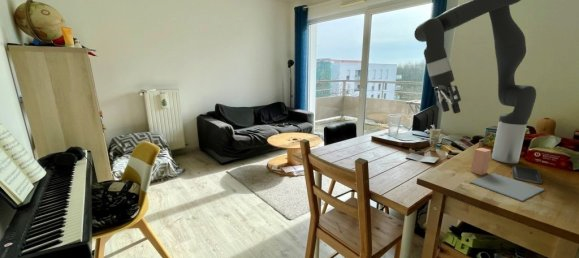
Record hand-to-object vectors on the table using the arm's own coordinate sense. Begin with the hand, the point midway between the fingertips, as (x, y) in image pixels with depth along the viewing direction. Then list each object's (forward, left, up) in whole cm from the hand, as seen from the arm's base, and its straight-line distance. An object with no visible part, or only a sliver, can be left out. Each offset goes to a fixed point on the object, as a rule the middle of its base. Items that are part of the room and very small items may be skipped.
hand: (451, 112), depth 97 cm
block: (-9, +9, -24) cm, 27 cm away
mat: (-4, +20, -24) cm, 31 cm away
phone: (-22, +19, -24) cm, 38 cm away
